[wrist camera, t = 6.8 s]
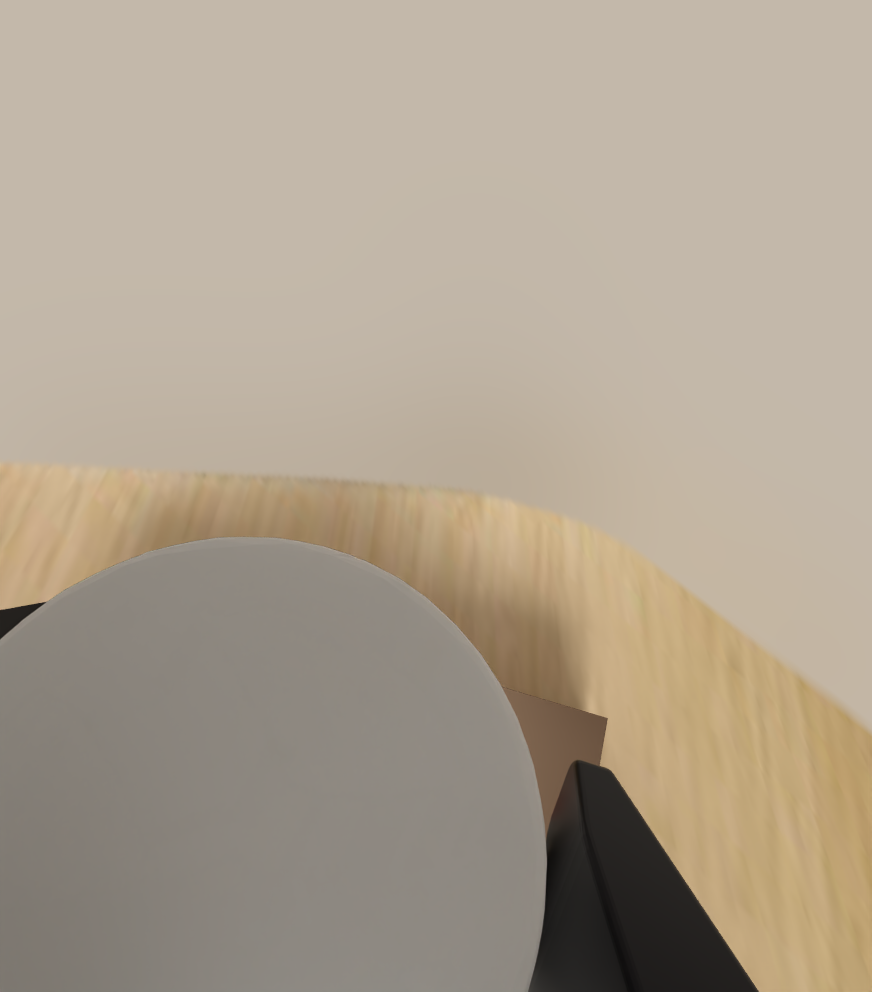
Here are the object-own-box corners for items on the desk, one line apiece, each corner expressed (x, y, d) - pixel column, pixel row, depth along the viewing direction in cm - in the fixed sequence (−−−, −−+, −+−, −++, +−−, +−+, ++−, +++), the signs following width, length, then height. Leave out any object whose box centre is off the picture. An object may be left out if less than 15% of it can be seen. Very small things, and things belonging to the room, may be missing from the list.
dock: (-71, 1057, 17) (-144, 1089, 15) (153, 601, 22) (124, 574, 20) (487, 1271, 16) (499, 1343, 13) (586, 731, 21) (607, 718, 19)
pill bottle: (405, 646, 15) (431, 389, 7) (526, 916, 13) (807, 1080, 4) (144, 762, 14) (-269, 636, 5) (233, 1084, 12) (-208, 1801, 3)
